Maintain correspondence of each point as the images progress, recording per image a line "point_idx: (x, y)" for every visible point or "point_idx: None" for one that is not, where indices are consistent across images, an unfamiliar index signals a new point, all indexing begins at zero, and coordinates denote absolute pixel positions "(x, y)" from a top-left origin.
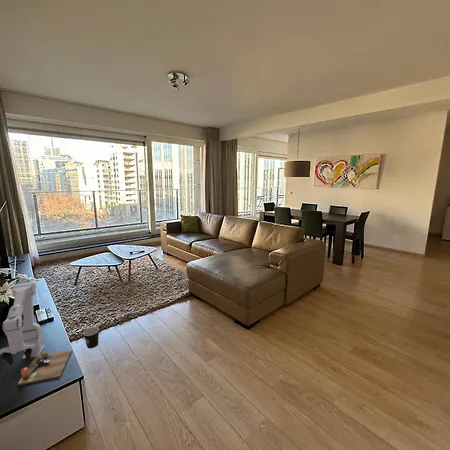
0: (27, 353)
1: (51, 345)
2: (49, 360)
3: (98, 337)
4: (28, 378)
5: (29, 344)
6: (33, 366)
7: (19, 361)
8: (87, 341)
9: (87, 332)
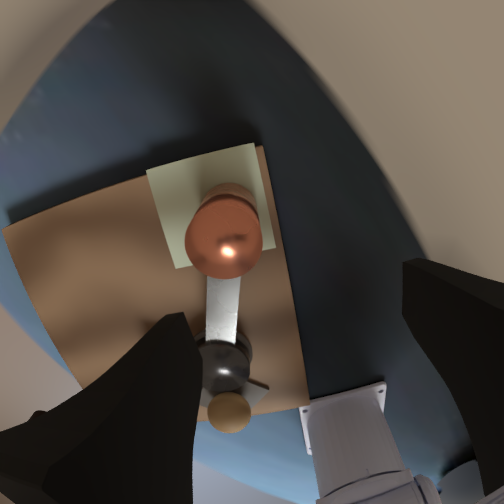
0: (3, 445)
1: (271, 453)
2: None
3: None
4: (200, 199)
5: None
6: (235, 318)
7: (393, 362)
8: None
9: None
